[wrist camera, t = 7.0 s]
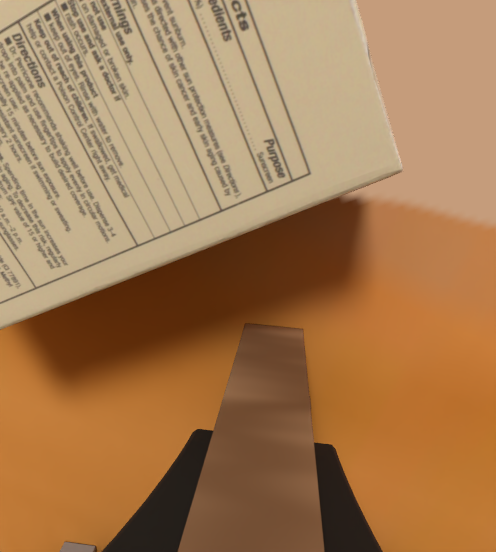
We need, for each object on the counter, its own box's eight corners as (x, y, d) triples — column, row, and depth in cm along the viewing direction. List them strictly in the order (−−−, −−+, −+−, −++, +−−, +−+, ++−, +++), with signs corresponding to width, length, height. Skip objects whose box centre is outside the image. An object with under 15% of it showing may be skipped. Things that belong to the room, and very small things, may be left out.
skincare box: (36, 292, 15) (374, 165, 12) (-60, 357, 11) (414, 189, 8) (-72, 113, 13) (301, -85, 10) (-236, 111, 9) (306, -216, 6)
